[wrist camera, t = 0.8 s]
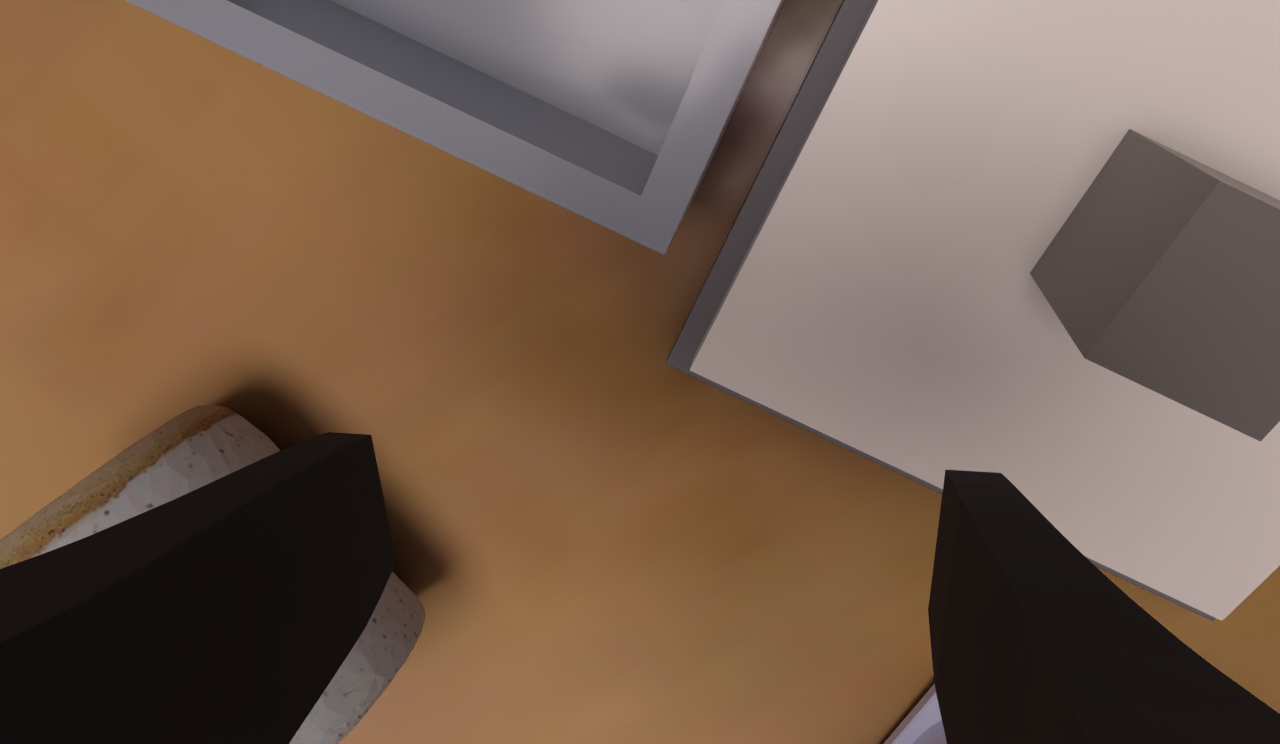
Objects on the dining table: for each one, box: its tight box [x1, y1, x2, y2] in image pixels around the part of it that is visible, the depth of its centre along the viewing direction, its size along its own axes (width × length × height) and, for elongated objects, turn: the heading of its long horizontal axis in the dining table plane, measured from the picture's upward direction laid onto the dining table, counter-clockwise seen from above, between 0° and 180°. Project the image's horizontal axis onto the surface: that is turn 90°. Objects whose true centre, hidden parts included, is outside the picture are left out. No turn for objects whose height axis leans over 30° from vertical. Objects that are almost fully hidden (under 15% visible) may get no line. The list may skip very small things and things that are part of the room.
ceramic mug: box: [0, 405, 425, 744], centre depth 22 cm, size 11×8×8 cm
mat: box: [666, 0, 1215, 621], centre depth 17 cm, size 14×14×1 cm
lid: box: [690, 0, 1280, 621], centre depth 15 cm, size 13×13×5 cm
